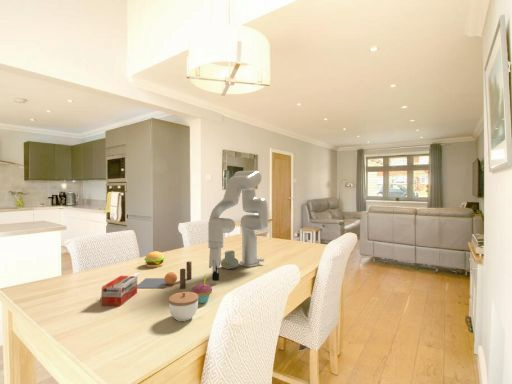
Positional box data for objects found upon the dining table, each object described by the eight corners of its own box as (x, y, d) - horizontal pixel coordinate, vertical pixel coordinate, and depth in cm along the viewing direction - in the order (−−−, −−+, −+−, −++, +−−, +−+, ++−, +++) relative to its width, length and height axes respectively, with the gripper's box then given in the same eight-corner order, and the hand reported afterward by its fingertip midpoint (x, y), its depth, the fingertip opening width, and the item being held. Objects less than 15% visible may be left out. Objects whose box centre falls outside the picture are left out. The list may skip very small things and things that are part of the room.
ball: (176, 268, 139) (164, 272, 138) (173, 273, 133) (161, 276, 132) (179, 279, 139) (167, 283, 139) (177, 284, 133) (165, 288, 133)
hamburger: (168, 263, 174) (168, 250, 174) (159, 268, 163) (159, 254, 162) (150, 262, 176) (150, 249, 176) (140, 268, 164) (140, 253, 164)
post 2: (191, 278, 145) (192, 261, 145) (190, 279, 143) (190, 262, 143) (187, 278, 145) (187, 261, 145) (185, 279, 143) (185, 262, 143)
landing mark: (172, 278, 144) (172, 278, 144) (163, 288, 130) (163, 287, 130) (145, 278, 144) (145, 278, 144) (134, 288, 130) (134, 287, 130)
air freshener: (240, 267, 166) (240, 251, 166) (234, 271, 159) (234, 253, 159) (225, 265, 171) (225, 249, 171) (218, 268, 164) (218, 252, 163)
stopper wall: (139, 277, 146) (139, 272, 146) (124, 289, 128) (124, 284, 128) (135, 277, 146) (135, 272, 146) (119, 289, 128) (119, 284, 128)
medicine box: (120, 307, 110) (120, 287, 110) (100, 306, 110) (100, 287, 110) (138, 292, 125) (138, 275, 125) (120, 292, 125) (120, 275, 125)
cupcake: (215, 298, 118) (215, 271, 118) (205, 306, 110) (205, 277, 110) (198, 296, 121) (198, 269, 121) (187, 303, 113) (187, 274, 113)
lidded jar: (172, 311, 106) (172, 287, 106) (200, 310, 107) (200, 287, 106) (165, 325, 95) (165, 298, 95) (196, 324, 96) (196, 297, 96)
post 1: (186, 286, 132) (186, 268, 132) (184, 288, 130) (184, 270, 130) (180, 286, 132) (180, 268, 132) (179, 288, 130) (179, 270, 130)
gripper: (210, 241, 145) (210, 275, 145) (205, 247, 130) (205, 285, 130) (224, 241, 145) (224, 275, 145) (221, 247, 130) (221, 285, 130)
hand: (215, 280), depth 138 cm, fingers closed
